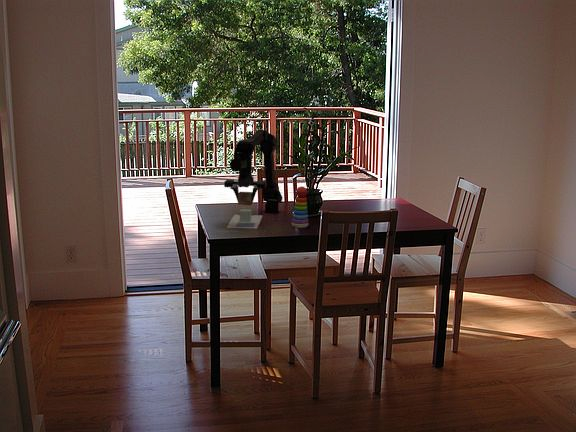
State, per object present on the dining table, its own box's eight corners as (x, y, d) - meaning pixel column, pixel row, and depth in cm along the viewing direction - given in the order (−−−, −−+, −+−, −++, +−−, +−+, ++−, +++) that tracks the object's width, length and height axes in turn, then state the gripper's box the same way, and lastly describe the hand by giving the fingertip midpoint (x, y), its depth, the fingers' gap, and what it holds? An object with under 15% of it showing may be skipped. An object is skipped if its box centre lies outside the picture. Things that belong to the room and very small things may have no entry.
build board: (262, 217, 337) (262, 215, 337) (256, 230, 311) (257, 228, 311) (234, 216, 338) (234, 214, 338) (226, 229, 312) (226, 227, 312)
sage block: (251, 219, 328) (251, 209, 327) (250, 221, 323) (250, 211, 322) (241, 219, 328) (241, 209, 327) (239, 221, 324) (239, 211, 323)
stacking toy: (296, 228, 314) (297, 188, 310) (288, 225, 321) (288, 185, 317) (311, 227, 318) (312, 187, 314) (303, 223, 325) (304, 184, 321)
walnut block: (252, 202, 318) (252, 192, 317) (251, 205, 312) (251, 194, 311) (239, 202, 318) (239, 191, 317) (238, 204, 312) (238, 194, 311)
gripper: (222, 170, 304) (222, 205, 307) (264, 171, 303) (263, 206, 306) (226, 167, 315) (226, 200, 318) (266, 168, 314) (266, 201, 317)
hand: (245, 202), depth 315 cm, fingers closed on walnut block, 6 cm apart
